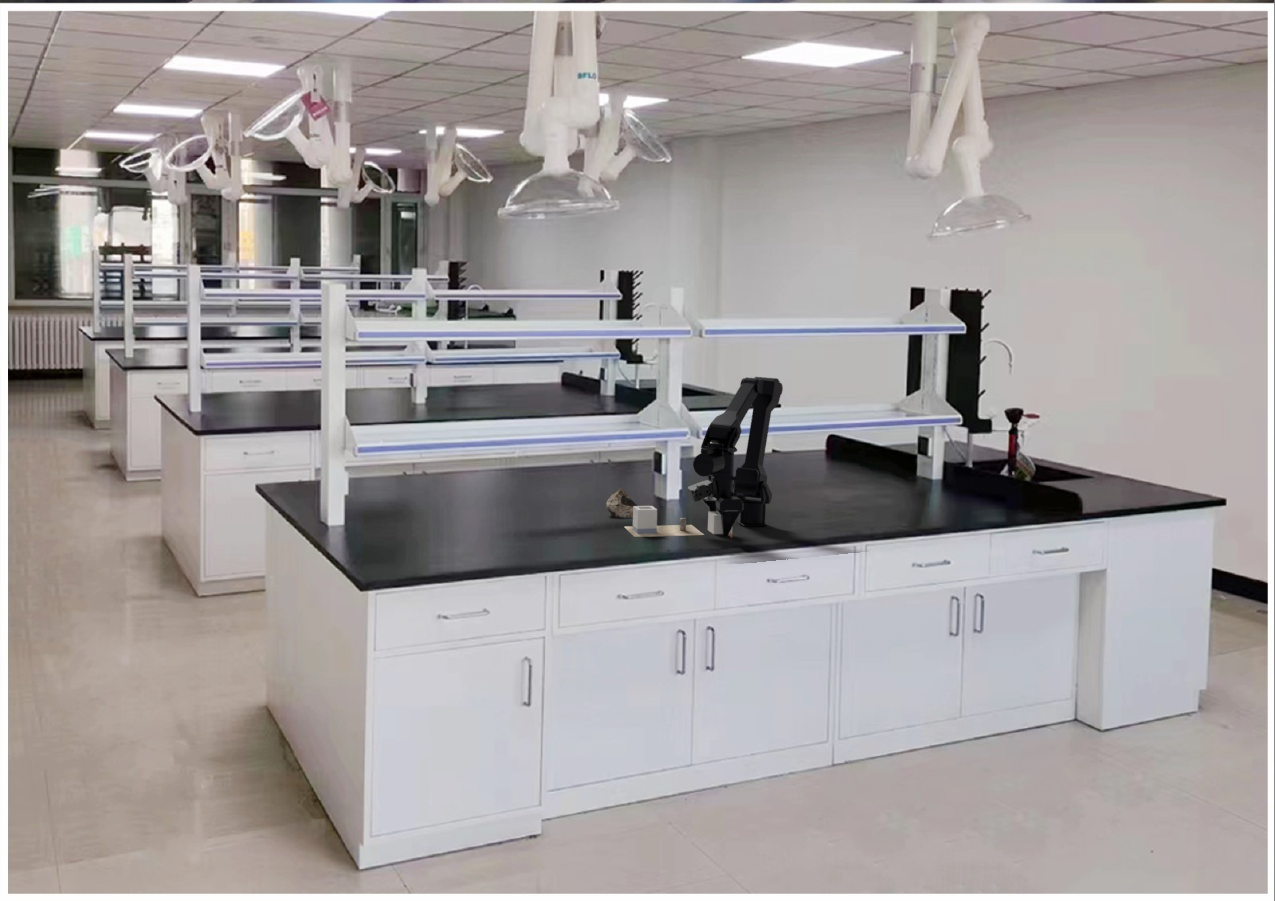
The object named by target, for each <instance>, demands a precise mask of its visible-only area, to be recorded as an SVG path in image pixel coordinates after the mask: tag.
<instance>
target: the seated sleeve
mask: <svg viewBox="0 0 1275 901" xmlns="http://www.w3.org/2000/svg"><path fill="white" fill-rule="evenodd" d="M632 526H633V530H634V531H635V532H636V533H637V534H642V533H657V526H658V508H656V507H654V506H653V505H638V506H633V517H632Z"/></svg>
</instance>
